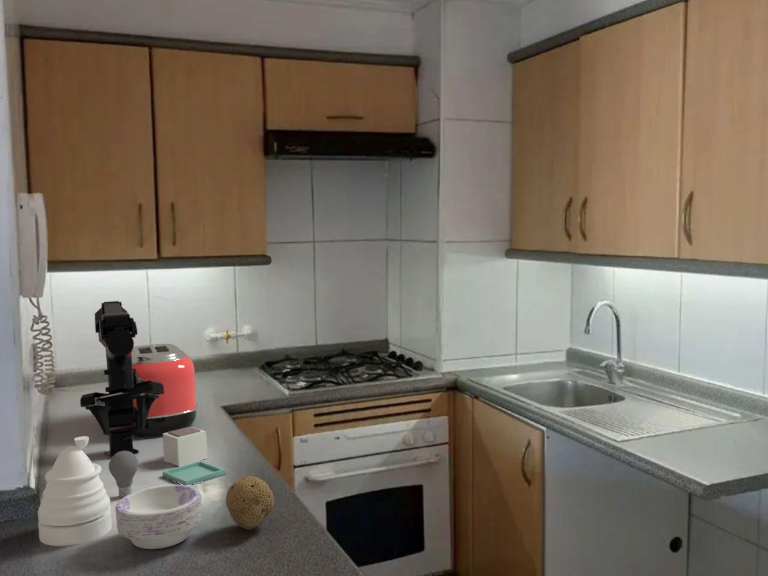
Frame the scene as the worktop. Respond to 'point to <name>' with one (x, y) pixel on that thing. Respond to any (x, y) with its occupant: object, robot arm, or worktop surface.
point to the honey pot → (74, 500)
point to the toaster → (166, 388)
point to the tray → (194, 473)
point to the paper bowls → (159, 515)
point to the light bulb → (123, 471)
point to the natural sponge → (249, 501)
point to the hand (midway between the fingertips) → (125, 431)
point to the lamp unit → (185, 446)
